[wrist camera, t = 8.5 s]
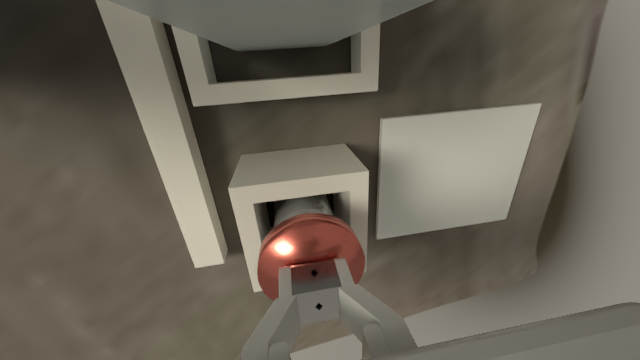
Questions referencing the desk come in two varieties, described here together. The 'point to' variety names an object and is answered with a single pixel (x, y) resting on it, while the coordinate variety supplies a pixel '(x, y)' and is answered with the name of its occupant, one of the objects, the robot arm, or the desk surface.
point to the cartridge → (272, 19)
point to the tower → (297, 191)
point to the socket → (172, 113)
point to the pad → (450, 167)
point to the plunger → (306, 240)
